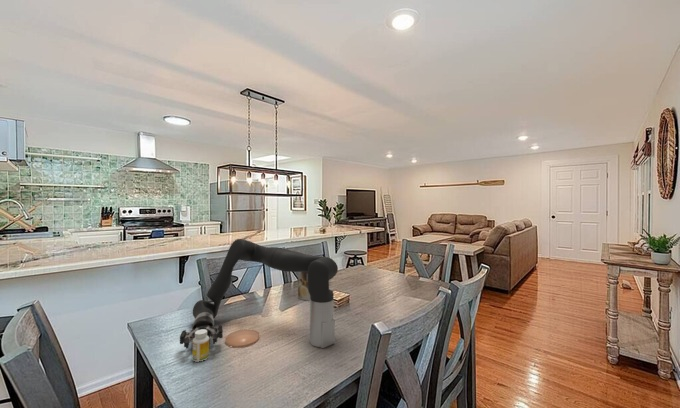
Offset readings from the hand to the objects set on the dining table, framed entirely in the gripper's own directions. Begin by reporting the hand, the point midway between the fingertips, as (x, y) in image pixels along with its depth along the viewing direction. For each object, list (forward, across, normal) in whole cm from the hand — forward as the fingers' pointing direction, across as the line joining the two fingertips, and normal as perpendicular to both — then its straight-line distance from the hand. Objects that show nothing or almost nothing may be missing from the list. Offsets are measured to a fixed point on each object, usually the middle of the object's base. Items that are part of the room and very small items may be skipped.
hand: (200, 343), depth 105 cm
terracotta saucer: (-11, +15, +6) cm, 19 cm away
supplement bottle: (-1, 0, +6) cm, 6 cm away
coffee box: (-49, +52, +6) cm, 72 cm away
